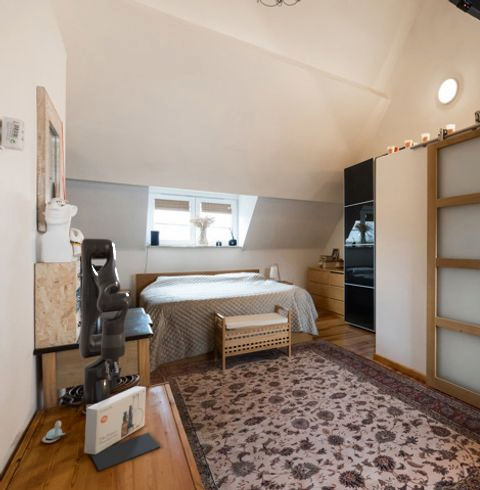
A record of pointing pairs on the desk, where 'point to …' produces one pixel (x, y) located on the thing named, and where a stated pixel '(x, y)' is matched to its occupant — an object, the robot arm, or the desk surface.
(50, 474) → the desk surface
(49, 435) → the pacifier
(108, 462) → the dark rubber mat
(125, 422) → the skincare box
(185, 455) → the desk surface
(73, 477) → the desk surface
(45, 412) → the desk surface
